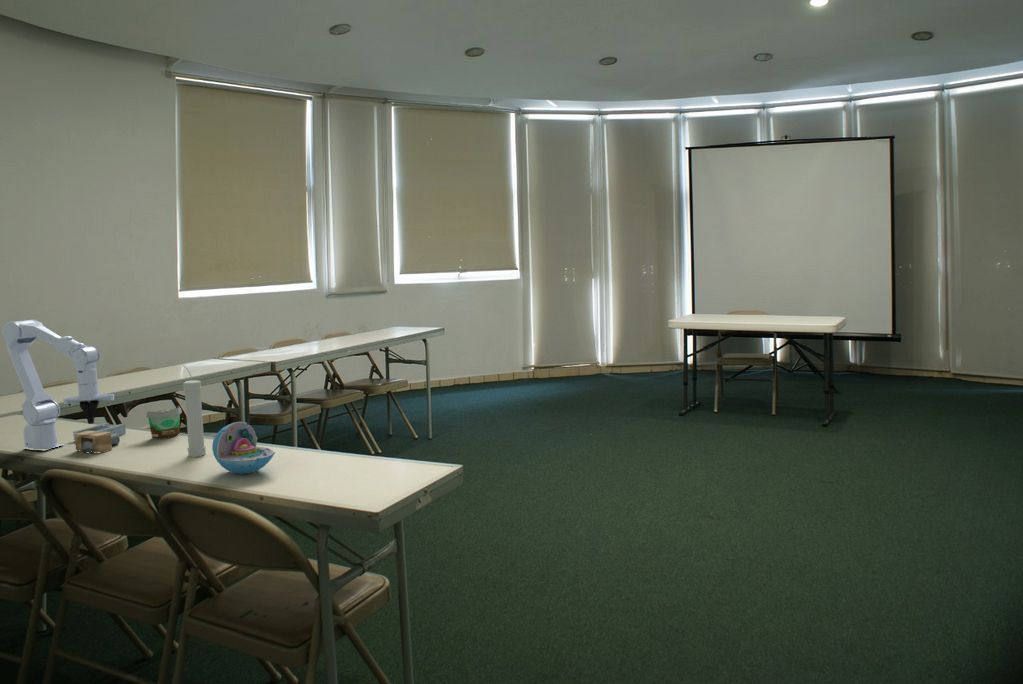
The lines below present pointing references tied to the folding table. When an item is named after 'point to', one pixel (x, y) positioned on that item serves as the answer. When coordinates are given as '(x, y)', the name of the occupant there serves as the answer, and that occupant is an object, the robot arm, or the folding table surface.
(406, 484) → the folding table surface
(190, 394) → the pipe
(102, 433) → the beam
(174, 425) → the food container
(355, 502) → the folding table surface
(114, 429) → the cradle
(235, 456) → the educational model
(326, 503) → the folding table surface
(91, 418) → the robot arm
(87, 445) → the axle
